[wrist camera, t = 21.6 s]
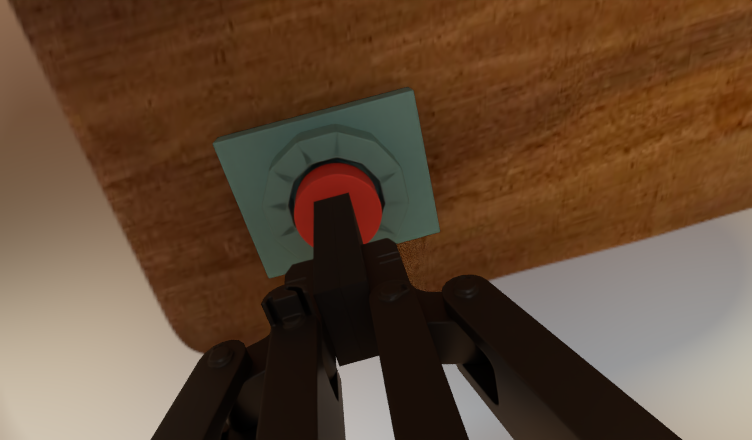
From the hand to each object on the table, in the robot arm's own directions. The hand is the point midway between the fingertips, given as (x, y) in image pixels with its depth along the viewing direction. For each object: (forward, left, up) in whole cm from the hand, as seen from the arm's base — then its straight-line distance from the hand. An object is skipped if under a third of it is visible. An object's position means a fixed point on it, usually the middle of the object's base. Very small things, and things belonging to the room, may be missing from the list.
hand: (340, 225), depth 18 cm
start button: (0, 0, -3) cm, 3 cm away
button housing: (0, 0, -6) cm, 6 cm away
